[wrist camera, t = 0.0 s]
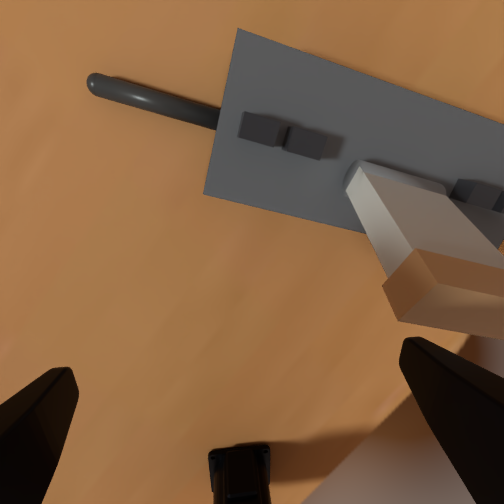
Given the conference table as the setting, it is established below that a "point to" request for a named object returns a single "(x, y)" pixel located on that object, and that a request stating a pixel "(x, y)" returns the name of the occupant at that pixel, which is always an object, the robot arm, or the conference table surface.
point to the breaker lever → (428, 252)
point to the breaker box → (329, 136)
